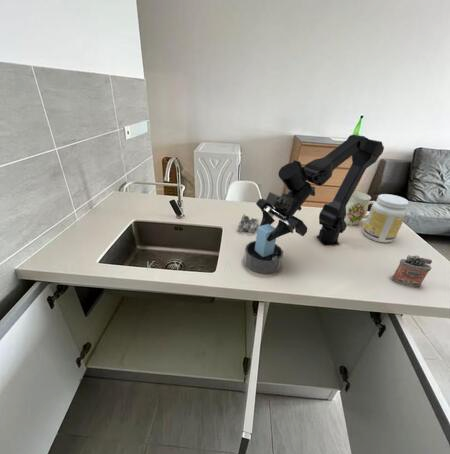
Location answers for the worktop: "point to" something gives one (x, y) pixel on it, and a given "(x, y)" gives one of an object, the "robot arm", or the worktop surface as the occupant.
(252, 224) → the egg carton
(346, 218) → the pitcher
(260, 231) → the ice block
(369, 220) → the supplement tub
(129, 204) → the worktop surface
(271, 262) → the pot
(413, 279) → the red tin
